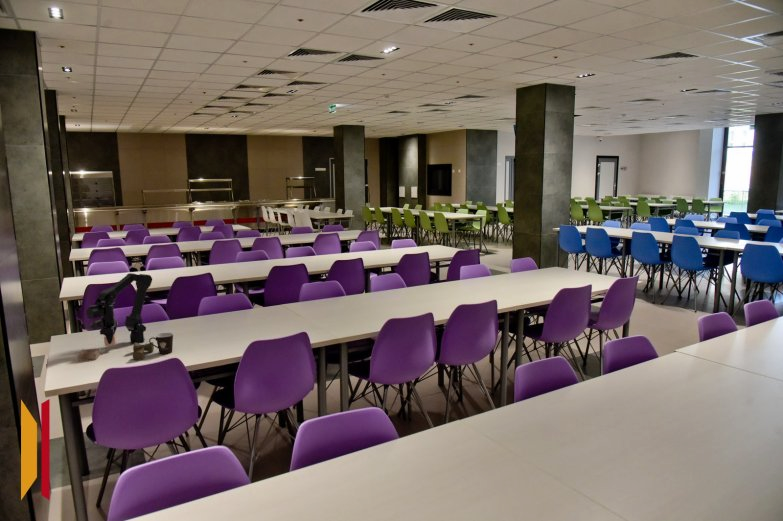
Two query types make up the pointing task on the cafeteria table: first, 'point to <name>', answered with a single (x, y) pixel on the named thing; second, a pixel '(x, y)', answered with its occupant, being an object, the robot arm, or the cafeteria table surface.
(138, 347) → the kendama
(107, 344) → the terracotta cube
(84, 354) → the walnut box
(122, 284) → the robot arm
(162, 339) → the coffee mug
